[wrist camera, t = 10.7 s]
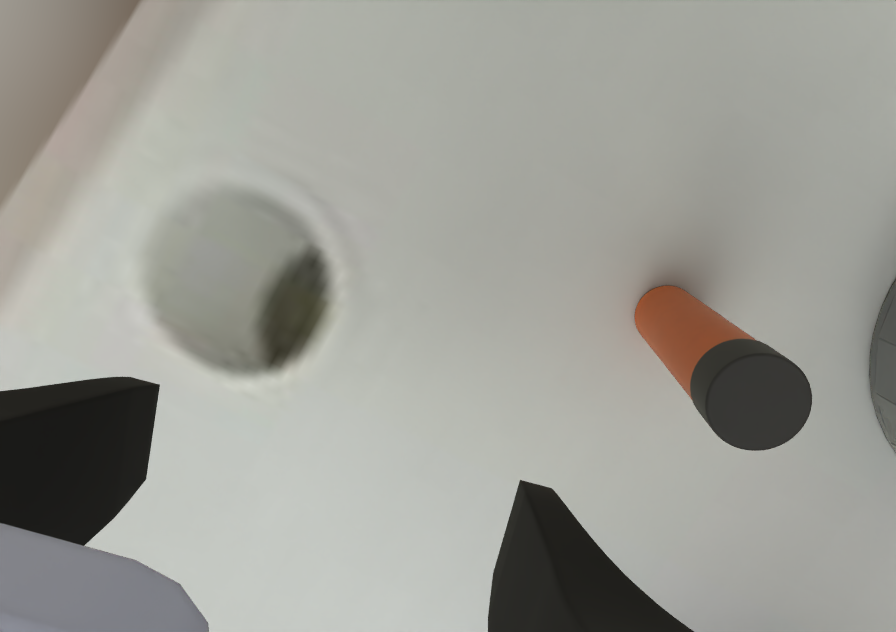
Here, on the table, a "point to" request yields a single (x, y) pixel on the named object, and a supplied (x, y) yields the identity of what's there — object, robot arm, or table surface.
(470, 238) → the table surface
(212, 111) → the table surface
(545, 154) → the table surface
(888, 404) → the pot
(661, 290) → the marker
